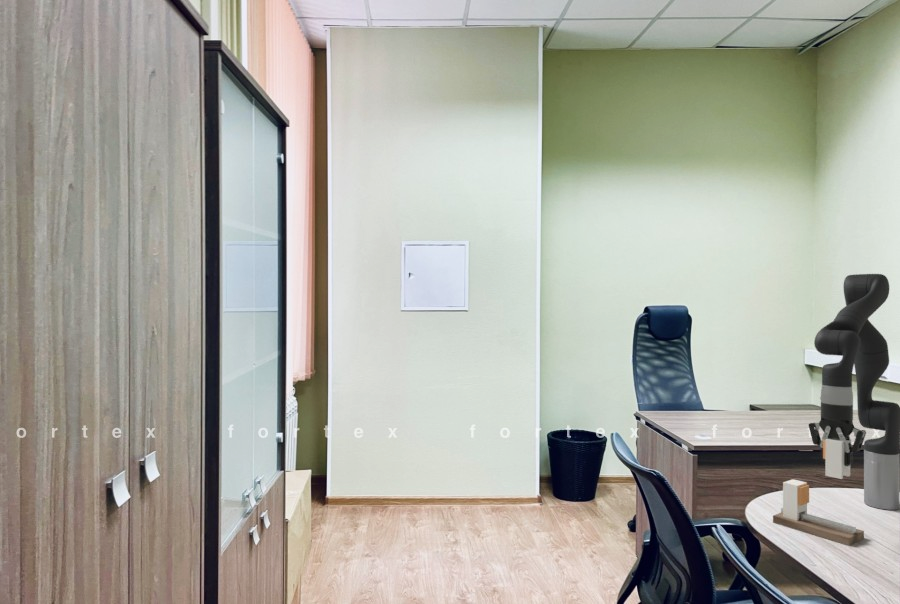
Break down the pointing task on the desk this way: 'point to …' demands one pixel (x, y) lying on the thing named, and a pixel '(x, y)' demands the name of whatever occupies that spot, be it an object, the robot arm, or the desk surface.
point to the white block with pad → (834, 458)
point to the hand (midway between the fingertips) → (836, 463)
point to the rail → (819, 530)
